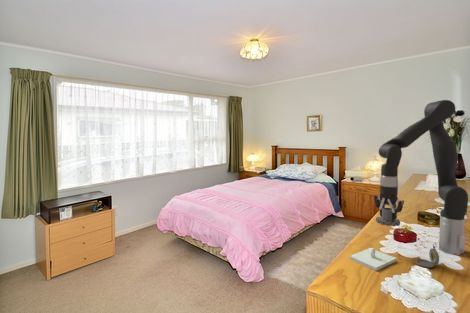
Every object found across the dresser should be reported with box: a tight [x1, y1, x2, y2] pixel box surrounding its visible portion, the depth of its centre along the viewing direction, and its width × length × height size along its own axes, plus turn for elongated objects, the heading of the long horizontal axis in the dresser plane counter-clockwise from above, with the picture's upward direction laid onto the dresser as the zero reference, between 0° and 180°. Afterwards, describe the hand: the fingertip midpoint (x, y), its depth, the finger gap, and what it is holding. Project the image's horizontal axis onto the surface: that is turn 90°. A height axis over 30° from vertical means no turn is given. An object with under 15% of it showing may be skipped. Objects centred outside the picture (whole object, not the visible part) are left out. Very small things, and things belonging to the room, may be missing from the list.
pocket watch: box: [415, 243, 440, 269], centre depth 116 cm, size 8×8×10 cm
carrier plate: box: [349, 247, 397, 272], centre depth 122 cm, size 13×16×6 cm
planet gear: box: [375, 207, 401, 227], centre depth 129 cm, size 10×10×7 cm
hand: (387, 218), depth 129 cm, fingers closed on planet gear, 5 cm apart
